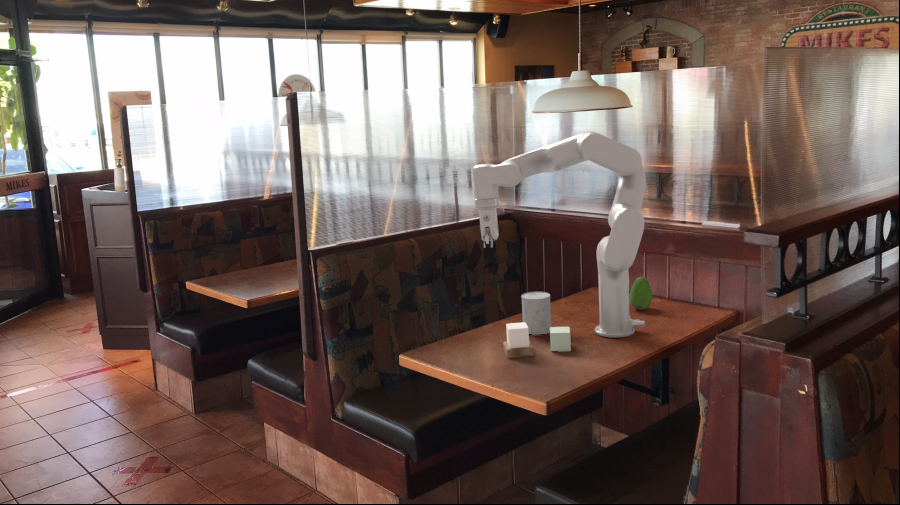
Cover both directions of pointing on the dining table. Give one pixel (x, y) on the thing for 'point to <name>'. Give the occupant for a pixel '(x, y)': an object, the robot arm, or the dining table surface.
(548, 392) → the dining table surface
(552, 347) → the sage block
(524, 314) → the grey marble cylinder
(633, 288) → the avocado
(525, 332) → the tower cube
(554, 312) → the dining table surface
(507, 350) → the walnut slab
